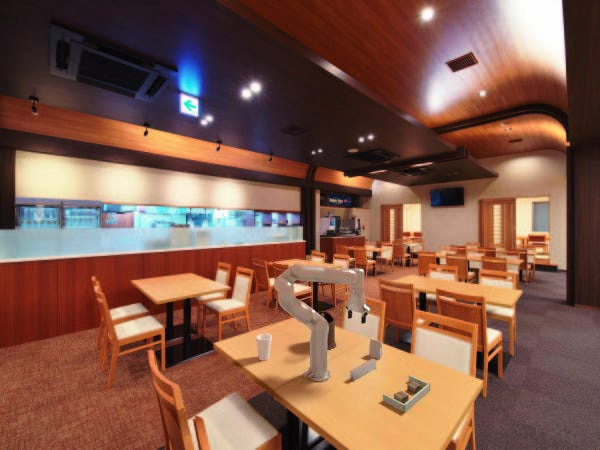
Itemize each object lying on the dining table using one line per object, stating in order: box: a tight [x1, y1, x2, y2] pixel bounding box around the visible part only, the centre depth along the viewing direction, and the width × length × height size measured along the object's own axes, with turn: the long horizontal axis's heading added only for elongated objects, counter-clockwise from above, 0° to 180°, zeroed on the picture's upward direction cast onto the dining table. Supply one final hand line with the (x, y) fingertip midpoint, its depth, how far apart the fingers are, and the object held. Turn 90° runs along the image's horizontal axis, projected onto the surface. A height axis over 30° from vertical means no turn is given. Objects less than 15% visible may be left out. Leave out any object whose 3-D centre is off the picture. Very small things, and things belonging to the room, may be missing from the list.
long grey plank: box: [349, 357, 377, 382], centre depth 149 cm, size 20×2×5 cm, turn 130°
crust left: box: [393, 390, 409, 404], centre depth 126 cm, size 5×4×3 cm
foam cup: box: [255, 333, 273, 362], centre depth 165 cm, size 10×9×13 cm
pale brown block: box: [368, 338, 383, 360], centre depth 168 cm, size 4×7×10 cm, turn 53°
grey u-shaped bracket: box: [382, 374, 431, 414], centre depth 130 cm, size 25×11×4 cm, turn 131°
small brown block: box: [406, 381, 422, 395], centre depth 134 cm, size 5×4×3 cm
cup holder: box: [316, 310, 337, 351], centre depth 182 cm, size 18×24×25 cm
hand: (356, 320), depth 154 cm, fingers open, 9 cm apart
